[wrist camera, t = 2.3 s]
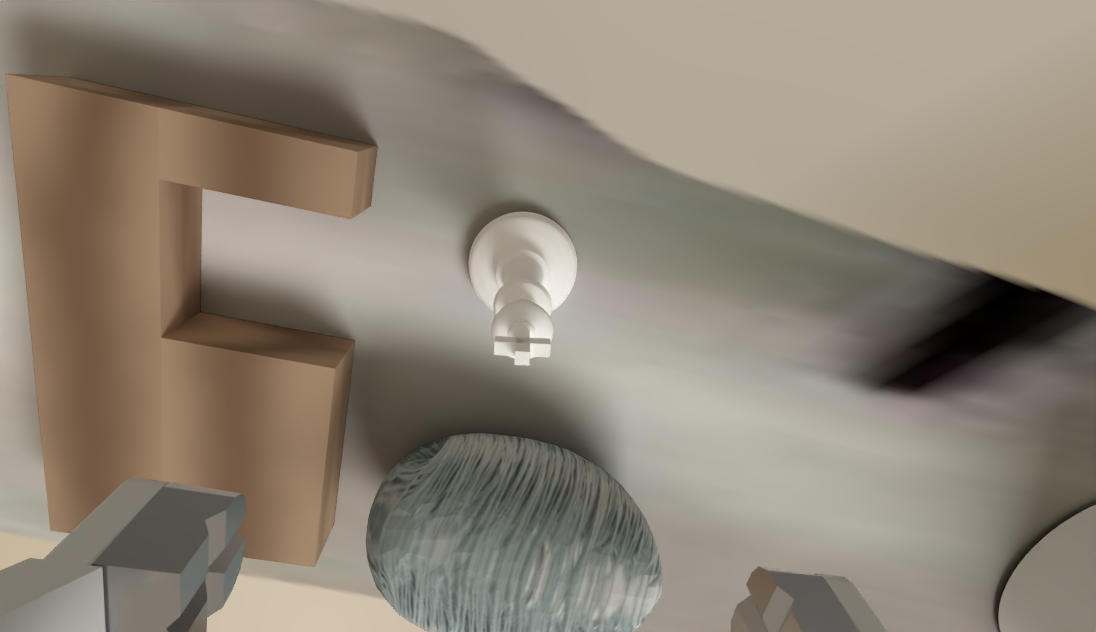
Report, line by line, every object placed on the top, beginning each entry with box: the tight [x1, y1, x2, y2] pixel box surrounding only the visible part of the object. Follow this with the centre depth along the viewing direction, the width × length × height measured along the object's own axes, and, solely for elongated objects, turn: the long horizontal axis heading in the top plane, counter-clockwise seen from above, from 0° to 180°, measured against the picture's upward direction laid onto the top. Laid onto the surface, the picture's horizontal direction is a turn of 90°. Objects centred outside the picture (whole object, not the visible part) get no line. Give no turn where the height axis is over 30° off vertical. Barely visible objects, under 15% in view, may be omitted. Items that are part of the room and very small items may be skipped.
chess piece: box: [468, 212, 577, 366], centre depth 21 cm, size 5×5×10 cm
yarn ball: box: [366, 433, 662, 632], centre depth 27 cm, size 14×10×10 cm
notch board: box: [5, 74, 378, 567], centre depth 25 cm, size 12×20×3 cm, turn 167°
